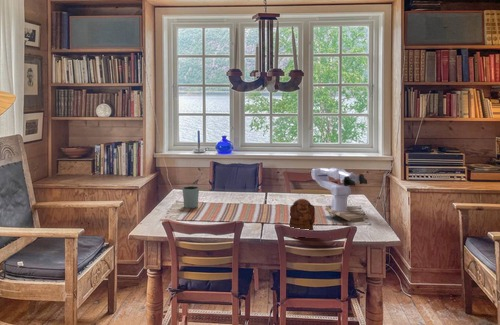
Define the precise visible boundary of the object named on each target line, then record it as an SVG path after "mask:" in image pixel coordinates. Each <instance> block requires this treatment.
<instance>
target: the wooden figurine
mask: <svg viewBox="0 0 500 325" xmlns="http://www.w3.org/2000/svg"><path fill="white" fill-rule="evenodd" d="M315 214H316V211H315V205H313V204H311V202H310V201H309V200H307V199H305V198H299V199H297V200H295V201H294V202H293V203H292V205H291V206H290V207H289V217H290V218H289V226H290V227H294V228H300V229H309V230H313V231H314V224H315V221H316V217H315V216H316V215H315ZM289 226H288V227H289ZM290 227H289V228H290Z"/></svg>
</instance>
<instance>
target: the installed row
mask: <svg viewBox="0 0 500 325" xmlns="http://www.w3.org/2000/svg"><path fill="white" fill-rule="evenodd" d="M349 211H350V210H347V211H344V212H340V213H342V214H344V215H346V216H348V217H349V218H351V220H350V221H356V222H363V221H362V220H364V217H363V216H361V215H358V214H356V213H355V212H351V211H350V212H349Z"/></svg>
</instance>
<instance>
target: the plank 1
mask: <svg viewBox="0 0 500 325" xmlns="http://www.w3.org/2000/svg"><path fill="white" fill-rule="evenodd" d="M324 208H325V209H324V210H325V211H327V212H329V213H331V214H332V215H335V214H333V213H332V211H333V209H331V208H330V207H328V206H325V207H324ZM336 216H337V215H336ZM338 217H339V216H338Z"/></svg>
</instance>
